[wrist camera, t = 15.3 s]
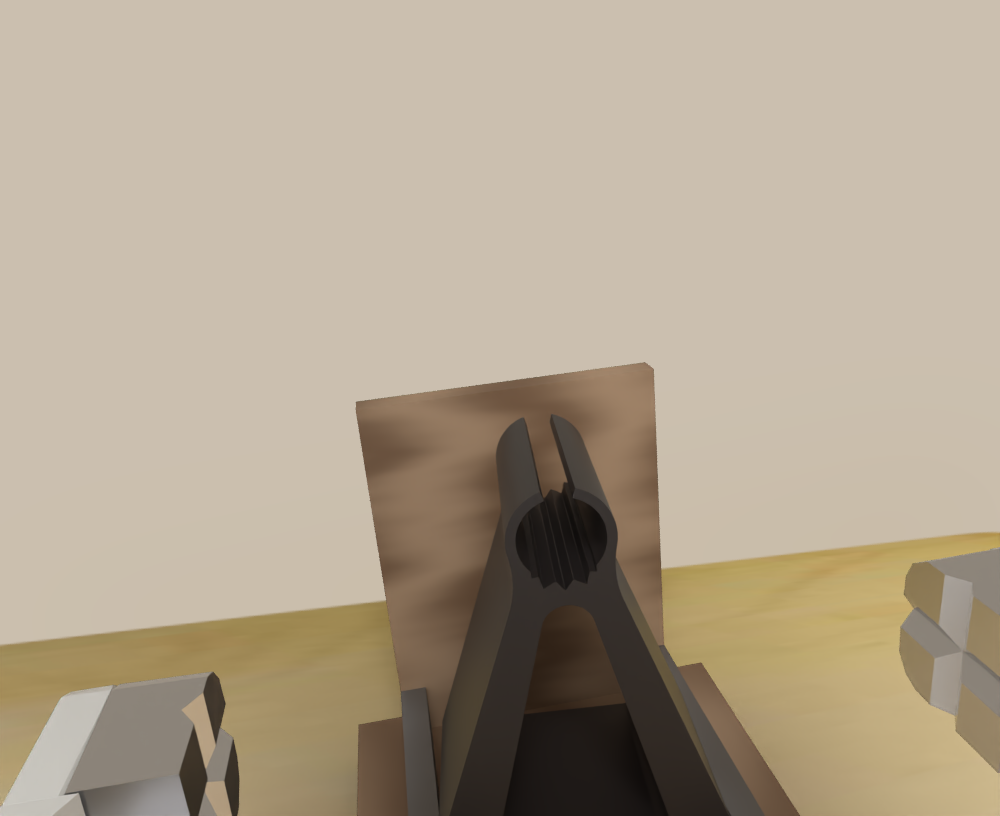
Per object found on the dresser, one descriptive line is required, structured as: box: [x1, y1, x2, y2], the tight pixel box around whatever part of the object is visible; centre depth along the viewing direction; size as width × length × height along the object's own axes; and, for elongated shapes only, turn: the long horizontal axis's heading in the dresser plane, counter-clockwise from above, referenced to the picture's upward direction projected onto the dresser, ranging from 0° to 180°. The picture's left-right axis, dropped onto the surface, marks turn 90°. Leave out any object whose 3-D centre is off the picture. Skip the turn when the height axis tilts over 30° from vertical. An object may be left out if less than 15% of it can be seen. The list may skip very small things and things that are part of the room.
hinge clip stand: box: [356, 362, 800, 816], centre depth 27 cm, size 15×15×16 cm
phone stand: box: [439, 414, 729, 816], centre depth 26 cm, size 9×6×12 cm, turn 92°
